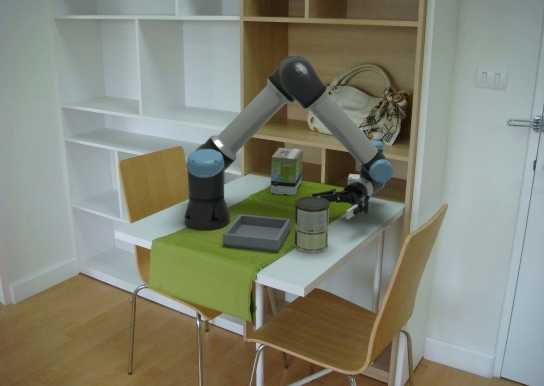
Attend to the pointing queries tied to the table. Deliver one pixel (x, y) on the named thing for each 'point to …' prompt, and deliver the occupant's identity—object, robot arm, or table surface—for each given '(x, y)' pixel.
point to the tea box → (286, 171)
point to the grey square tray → (257, 233)
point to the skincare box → (353, 178)
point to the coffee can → (311, 224)
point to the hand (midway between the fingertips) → (327, 210)
